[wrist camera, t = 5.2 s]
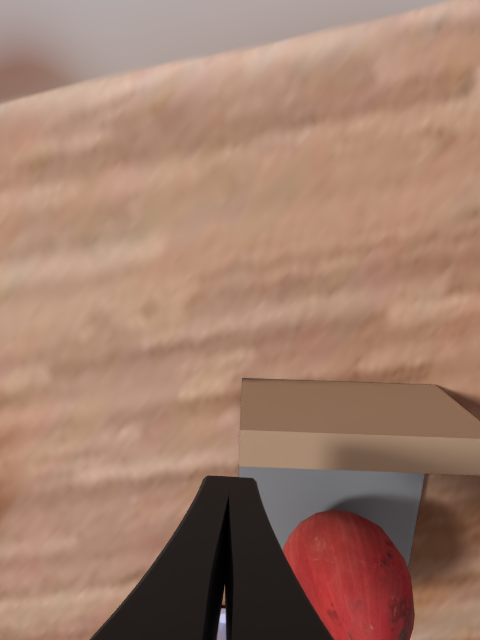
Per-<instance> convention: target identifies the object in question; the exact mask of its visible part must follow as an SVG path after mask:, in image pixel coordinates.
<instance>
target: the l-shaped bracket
mask: <svg viewBox="0 0 480 640" xmlns="http://www.w3.org/2000/svg"><path fill="white" fill-rule="evenodd" d="M425 473H426V474H452V475H478V476H480V421H479V420H478V419H477V418H476V417H474V416H473V415H472V414H471V413H469V412H468V411H467V410H466V409H464V408H463V407H462V406H461V405H460V404H458V403H457V402H456V401H455V400H453V399H452V398H451V397H450V396H449V395H447V394H446V393H445V392H444V391H442V390H441V389H440V388H439V387H437V386H436V385H421V384H393V383H364V382H335V381H307V380H278V379H250V378H242V392H241V417H240V444H239V477H245V478H254V480H255V481H256V482H257V486H258V490H259V494H260V497H261V500H262V503H263V506H264V509H265V511H266V514H267V517H268V519H269V522H270V524H271V526H272V529H273V531H274V533H275V535H276V538H277V540H278V542H279V544H280V546H281V549H282V551H283V548H284V545H285V543H286V541H287V539H288V537H289V535H290V534H291V533H292V532H293V530H294V529H295V528H296V527H297V526H298V524H299V523H300V522H301V521H303V520H305V519H307V518H308V517H310V516H312V515H313V514H315V513H318V512H324V511H329V510H340V511H348V512H353V513H355V514H357V515H359V516H362V517H364V518H366V519H368V520H370V521H372V522H373V523H375V524H377V525H379V526H380V527H381V528H382V529H383V530H384V532H385V533H386V534H387V535H388V537H389V538H390V539H391V541H392V542H393V543H394V544H395V546H396V547H397V549H398V550H399V552H400V553H401V555H402V556H403V558H404V559H405V561H406V564H407V567H408V566H409V560H410V555H411V549H412V543H413V538H414V532H415V526H416V520H417V515H418V509H419V503H420V498H421V492H422V486H423V481H424V475H425Z"/></svg>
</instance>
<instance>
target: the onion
mask: <svg viewBox="0 0 480 640" xmlns="http://www.w3.org/2000/svg"><path fill="white" fill-rule="evenodd" d="M283 553H284V555H285V557H286V559H287V561H288V563H289V565H290V566H291V568H292V570H293V572H294V574H295V576H296V578H297V580H298V581H299V583H300V585H301V587H302V589H303V590H304V592H305V594H306V596H307V597H308V599H309V601H310V602H311V604H312V606H313V607H314V609H315V610H316V612H317V614H318V615H319V617H320V619H321V620H322V622H323V623H324V625H325V626H326V628H327V629H328V631H329V633H330V634H331V636H332V637H333V639H334V640H410V637H411V634H412V630H413V625H414V616H415V614H414V603H413V593H412V585H411V576H410V573H409V570H408V567H407V564H406V561H405V559H404V558H403V556H402V555H401V553H400V552H399V550H398V549H397V547H396V546H395V544H394V543H393V542H392V541H391V539H390V538H389V537H388V535H387V534H386V533H385V532H384V530H383V529H382V528H381V527H380V526H379V525H377V524H375V523H373V522H372V521H370V520H368V519H366V518H364V517H362V516H359V515H357V514H355V513H353V512H348V511H340V510H329V511H324V512H318V513H315V514H313V515H312V516H310V517H308V518H307V519H305V520H303V521H301V522H300V523H299V524H298V526H297V527H296V528H295V529H294V530H293V532H292V533H291V534H290V535H289V537H288V539H287V541H286V543H285V545H284V548H283Z"/></svg>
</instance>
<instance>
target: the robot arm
mask: <svg viewBox="0 0 480 640" xmlns="http://www.w3.org/2000/svg"><path fill="white" fill-rule="evenodd" d="M224 586H225V609H224V608H221V607H222V600H223V593H224ZM90 640H334V639H333V637H332V636H331V634H330V633H329V631H328V629H327V628H326V626H325V625H324V623H323V622H322V620H321V619H320V617H319V615H318V614H317V612H316V610H315V609H314V607H313V606H312V604H311V602H310V601H309V599H308V597H307V596H306V594H305V592H304V590H303V589H302V587H301V585H300V583H299V581H298V580H297V578H296V576H295V574H294V572H293V570H292V568H291V566H290V565H289V563H288V561H287V559H286V557H285V555H284V553H283V551H282V549H281V546H280V544H279V542H278V540H277V538H276V535H275V533H274V531H273V529H272V526H271V524H270V522H269V519H268V517H267V514H266V511H265V509H264V506H263V503H262V500H261V497H260V494H259V490H258V486H257V482H256V481H255V480H254V478H245V477H226V476H207V477H205V478H204V479H203V481H202V484H201V486H200V488H199V491H198V493H197V495H196V497H195V499H194V500H193V502H192V504H191V506H190V508H189V509H188V511H187V513H186V515H185V516H184V518H183V520H182V521H181V523H180V524H179V526H178V528H177V529H176V531H175V532H174V534H173V536H172V537H171V539H170V540H169V542H168V543H167V545H166V546H165V547H164V549H163V550H162V552H161V553H160V554H159V556H158V557H157V559H156V560H155V561H154V563H153V564H152V566H151V567H150V569H149V570H148V571H147V572H146V574H145V575H144V576H143V578H142V579H141V580H140V582H139V583H138V584H137V585H136V587H135V588H134V589H133V590H132V592H131V593H130V594H129V595H128V596H127V598H126V599H125V600H124V601H123V603H122V604H121V605H120V606H119V607H118V608H117V610H116V611H115V612H114V613H113V614H112V615H111V616H110V618H109V619H108V620H107V621H106V622H105V623H104V624H103V625H102V626H101V628H100V629H99V630H98V631H97V632H96V633H95V634H94V635H93V637H92V638H91V639H90Z"/></svg>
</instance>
